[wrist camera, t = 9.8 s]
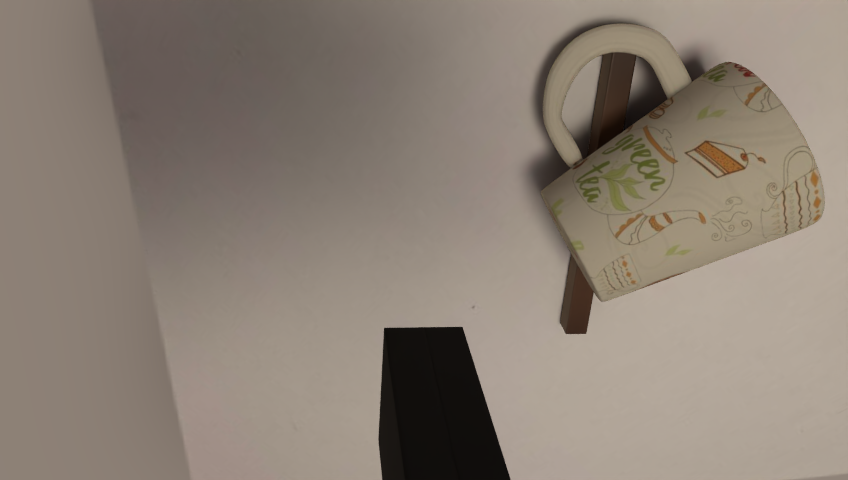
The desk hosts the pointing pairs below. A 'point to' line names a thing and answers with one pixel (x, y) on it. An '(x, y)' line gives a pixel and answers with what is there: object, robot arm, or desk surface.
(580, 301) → the strip
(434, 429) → the robot arm
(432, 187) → the desk surface
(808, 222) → the mug
